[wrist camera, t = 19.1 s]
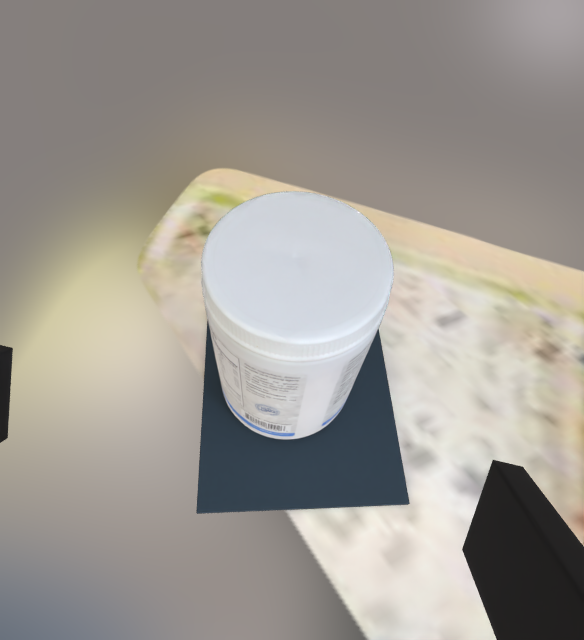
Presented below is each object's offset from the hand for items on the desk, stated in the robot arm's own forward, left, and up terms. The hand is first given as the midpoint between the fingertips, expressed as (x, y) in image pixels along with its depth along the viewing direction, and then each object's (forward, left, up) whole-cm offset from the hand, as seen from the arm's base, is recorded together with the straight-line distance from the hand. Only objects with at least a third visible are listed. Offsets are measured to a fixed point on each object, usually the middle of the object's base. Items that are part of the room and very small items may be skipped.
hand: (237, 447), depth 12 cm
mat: (-4, -10, -19) cm, 22 cm away
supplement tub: (-3, -10, -19) cm, 22 cm away
